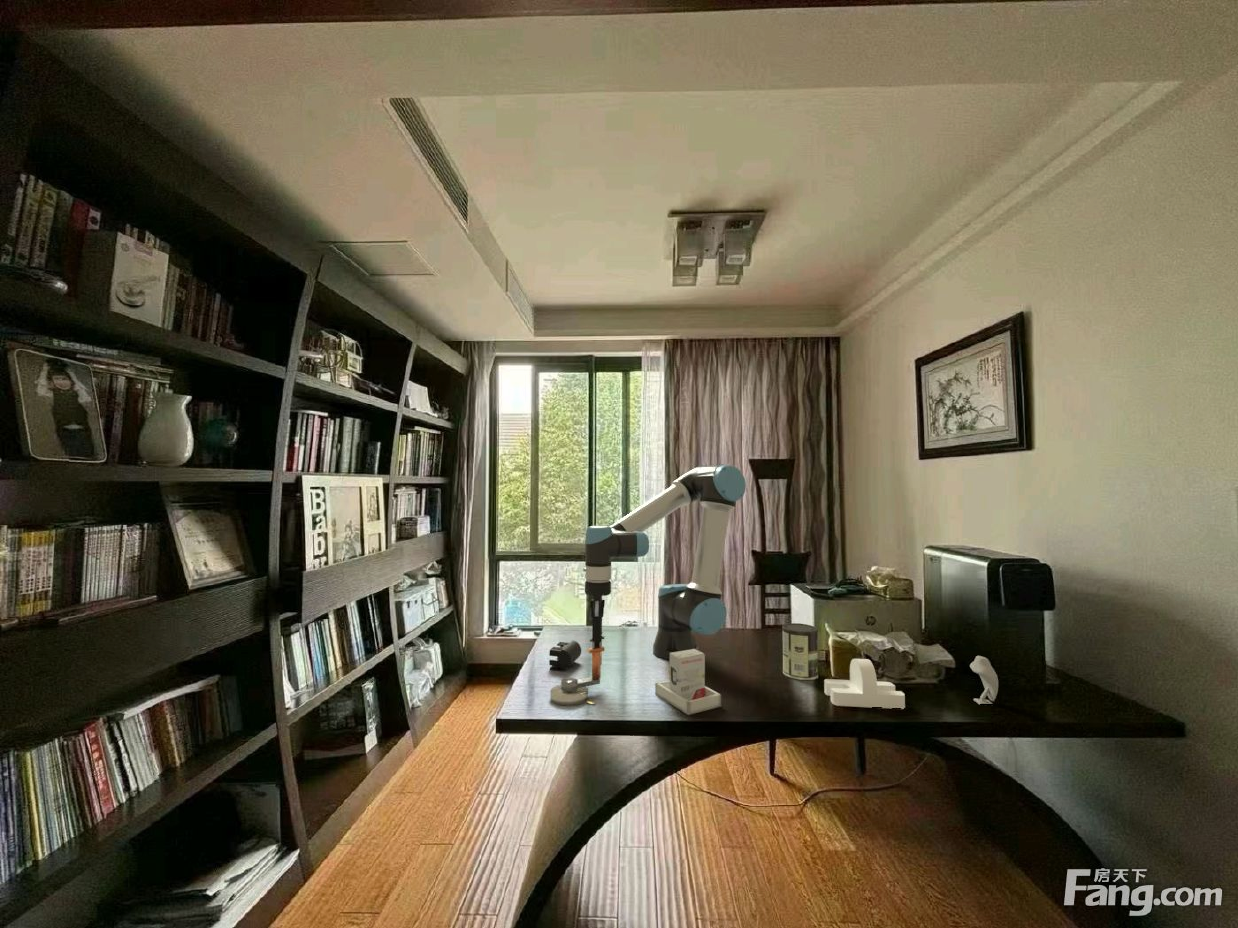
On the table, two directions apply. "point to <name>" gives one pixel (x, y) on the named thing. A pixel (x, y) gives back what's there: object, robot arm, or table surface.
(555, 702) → the crank housing
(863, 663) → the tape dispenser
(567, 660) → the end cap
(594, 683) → the crank
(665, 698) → the tray
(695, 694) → the ink box
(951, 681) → the table surface
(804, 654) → the coffee can
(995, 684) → the figurine
